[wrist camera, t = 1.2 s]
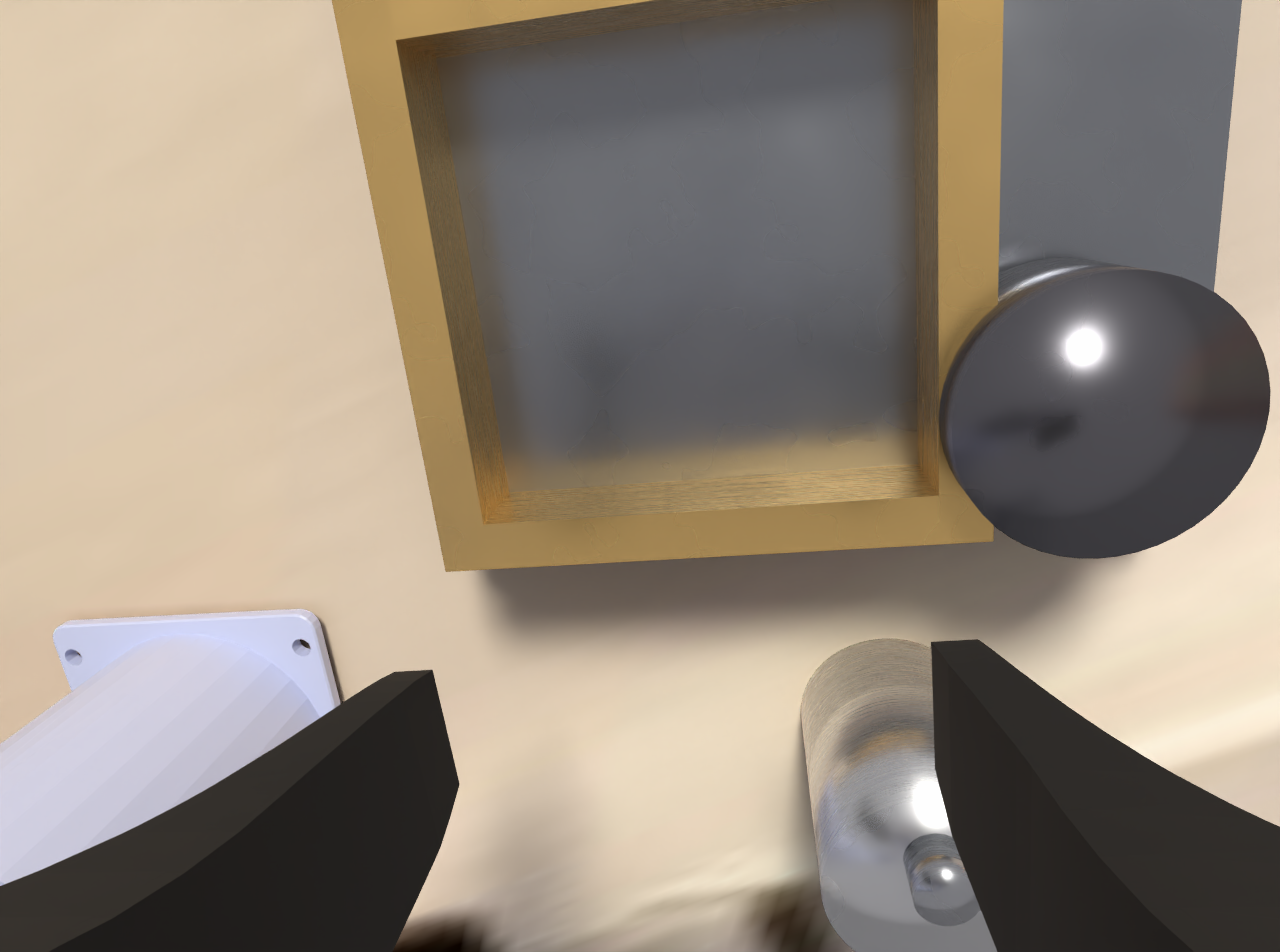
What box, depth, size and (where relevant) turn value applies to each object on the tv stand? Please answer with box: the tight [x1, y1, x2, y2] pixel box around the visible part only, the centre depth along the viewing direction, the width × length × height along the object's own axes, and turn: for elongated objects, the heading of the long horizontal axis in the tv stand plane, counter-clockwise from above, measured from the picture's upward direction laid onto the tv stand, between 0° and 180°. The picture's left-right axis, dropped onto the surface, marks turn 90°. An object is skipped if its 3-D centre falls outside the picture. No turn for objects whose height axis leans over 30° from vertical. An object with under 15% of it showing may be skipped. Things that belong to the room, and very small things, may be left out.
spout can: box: [801, 639, 997, 952], centre depth 19 cm, size 4×4×7 cm
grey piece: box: [332, 0, 1270, 572], centre depth 16 cm, size 14×16×5 cm
